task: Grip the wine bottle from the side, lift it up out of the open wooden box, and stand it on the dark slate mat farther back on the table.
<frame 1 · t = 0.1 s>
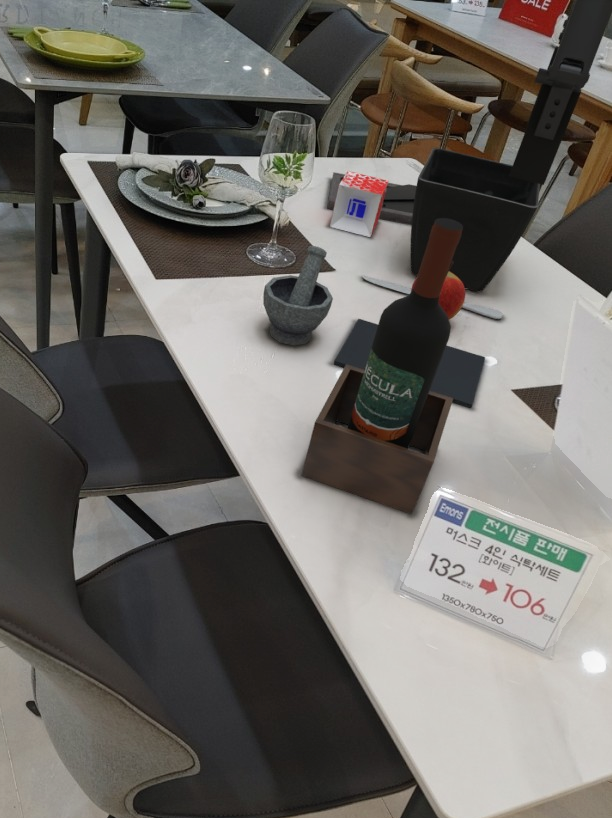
hand: (533, 154, 64), 39 cm above the table, tool pointing down, fingers open, 13 cm apart
butter knife: (430, 298, 128), on the table
slate mat: (410, 362, 112), on the table
red and white box: (353, 225, 146), on the table
flower pot: (448, 271, 137), on the table
open wooden box: (369, 462, 94), on the table
wine bottle: (369, 463, 94), resting in open wooden box
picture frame: (380, 204, 156), on the table
mortar and pestle: (291, 333, 114), on the table
apple: (427, 322, 122), on the table
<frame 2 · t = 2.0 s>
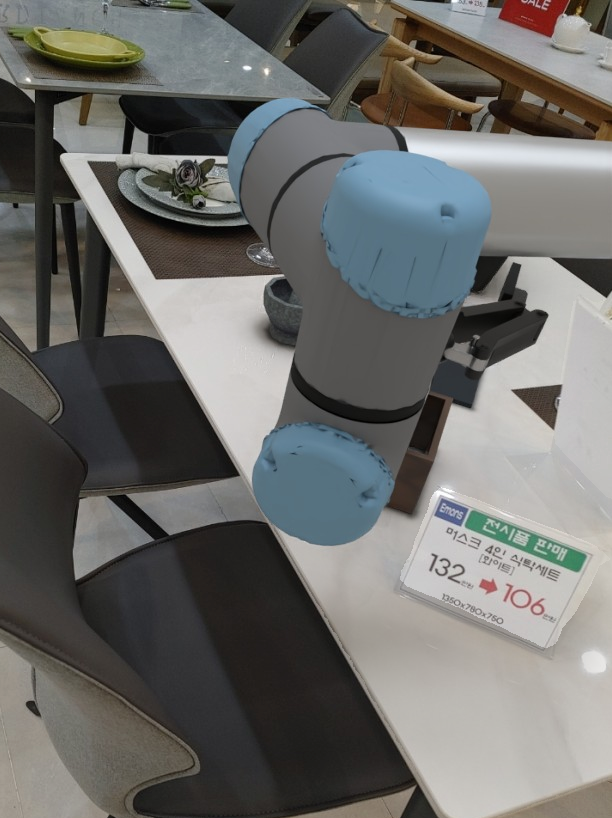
hand: (434, 254, 67), 31 cm above the table, tool horizontal, fingers open, 13 cm apart
nothing on the table moved.
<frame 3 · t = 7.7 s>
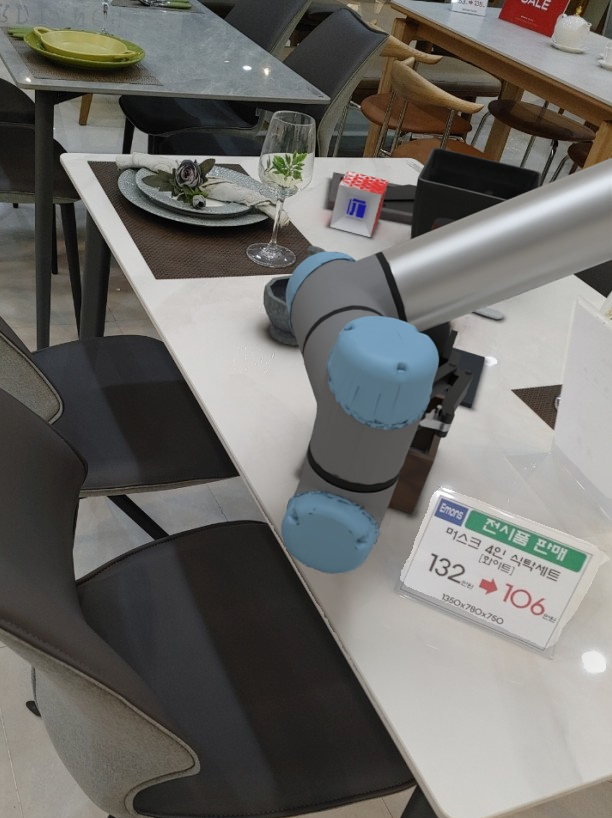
hand: (415, 330, 87), 16 cm above the table, tool horizontal, fingers closed on wine bottle, 8 cm apart
wine bottle: (369, 463, 94), resting in open wooden box, touching gripper
everything else where it was.
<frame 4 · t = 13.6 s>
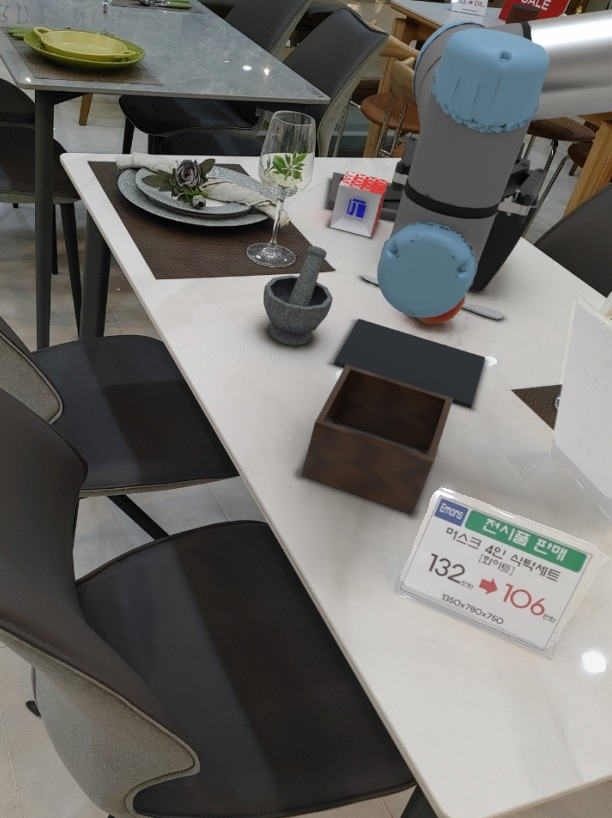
hand: (481, 145, 87), 32 cm above the table, tool horizontal, fingers closed on wine bottle, 7 cm apart
wine bottle: (430, 294, 94), point 16 cm above the table, touching gripper
everything else where it was.
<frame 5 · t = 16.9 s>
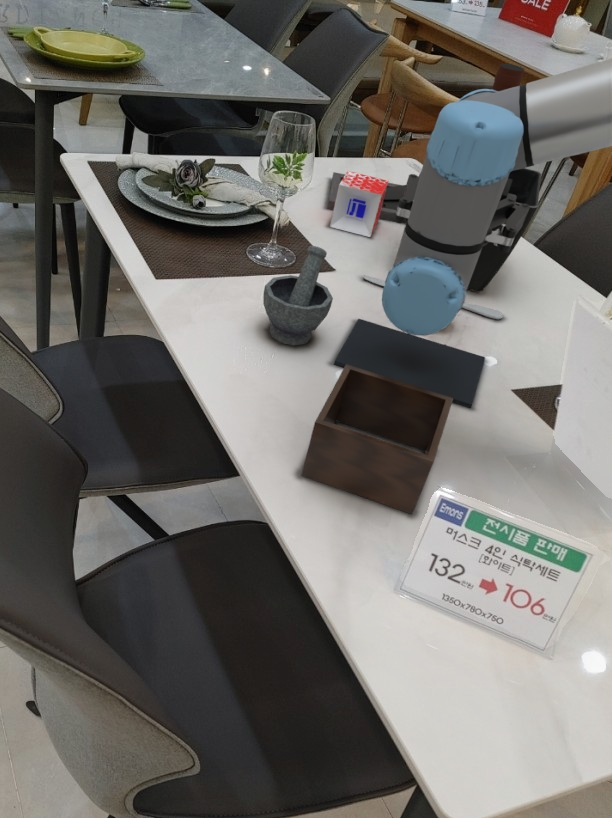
hand: (474, 181, 99), 25 cm above the table, tool horizontal, fingers closed on wine bottle, 7 cm apart
wine bottle: (428, 309, 106), point 9 cm above the table, touching gripper
everything else where it was.
when the fingers open (17 cm above the table, at t = 19.6 s): wine bottle stays where it is, resting on slate mat.
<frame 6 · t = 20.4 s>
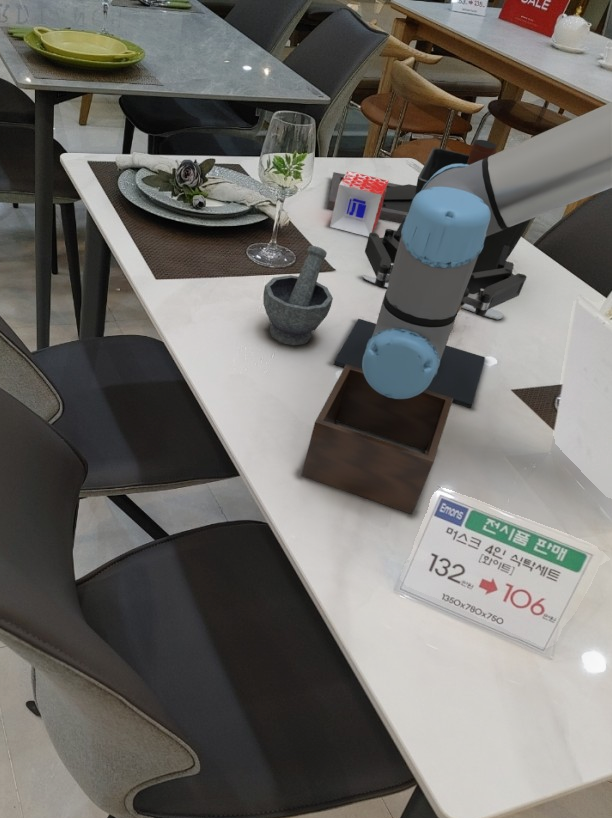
hand: (453, 241, 103), 17 cm above the table, tool horizontal, fingers open, 13 cm apart
wine bottle: (411, 359, 112), resting on slate mat
everything else where it was.
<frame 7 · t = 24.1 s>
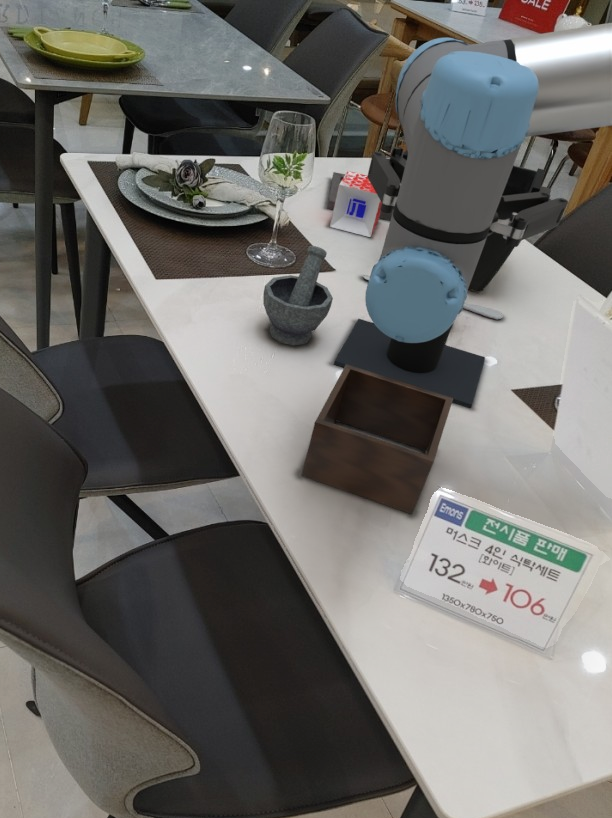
hand: (474, 166, 84), 31 cm above the table, tool horizontal, fingers open, 13 cm apart
nothing on the table moved.
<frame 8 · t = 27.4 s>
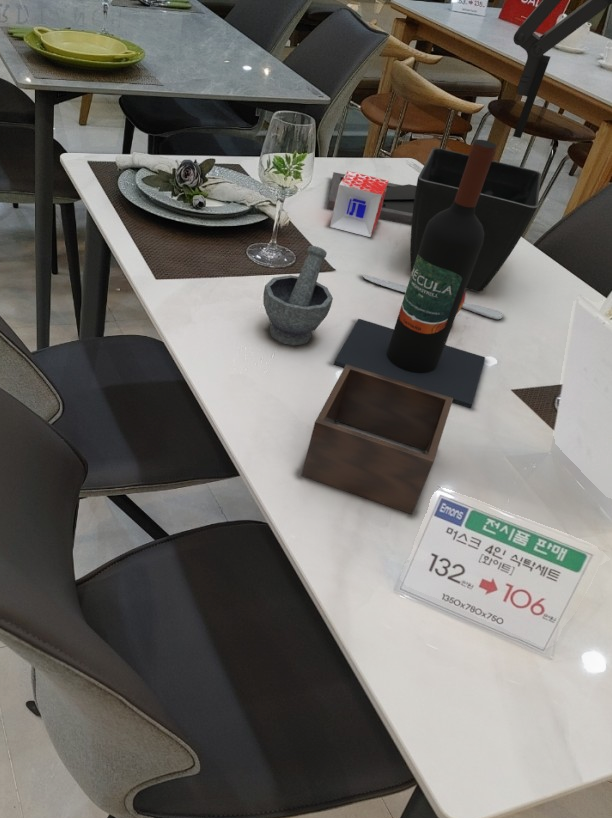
hand: (588, 151, 73), 37 cm above the table, tool pointing down, fingers open, 13 cm apart
nothing on the table moved.
at the end: wine bottle inside the target area on the slate mat (0.0 cm from its centre), point 0.4 cm above the slate mat's base; wine bottle tilted 0°; the gripper is holding nothing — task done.
